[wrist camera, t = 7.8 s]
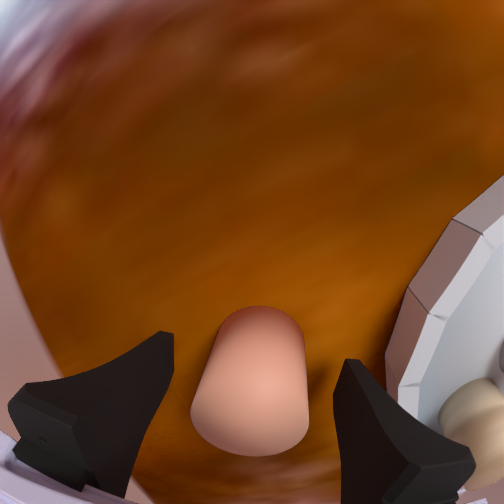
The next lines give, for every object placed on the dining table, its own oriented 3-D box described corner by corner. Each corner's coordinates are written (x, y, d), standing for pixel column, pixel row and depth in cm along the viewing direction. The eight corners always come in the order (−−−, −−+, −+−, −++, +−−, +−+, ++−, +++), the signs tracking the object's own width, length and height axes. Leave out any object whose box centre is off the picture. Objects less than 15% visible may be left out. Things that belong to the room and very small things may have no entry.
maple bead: (475, 425, 14) (502, 482, 9) (426, 430, 14) (450, 496, 9) (506, 376, 13) (545, 432, 8) (457, 378, 13) (496, 445, 8)
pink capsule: (295, 381, 15) (295, 461, 10) (215, 370, 15) (190, 445, 10) (312, 312, 14) (321, 389, 9) (220, 299, 14) (190, 370, 9)
